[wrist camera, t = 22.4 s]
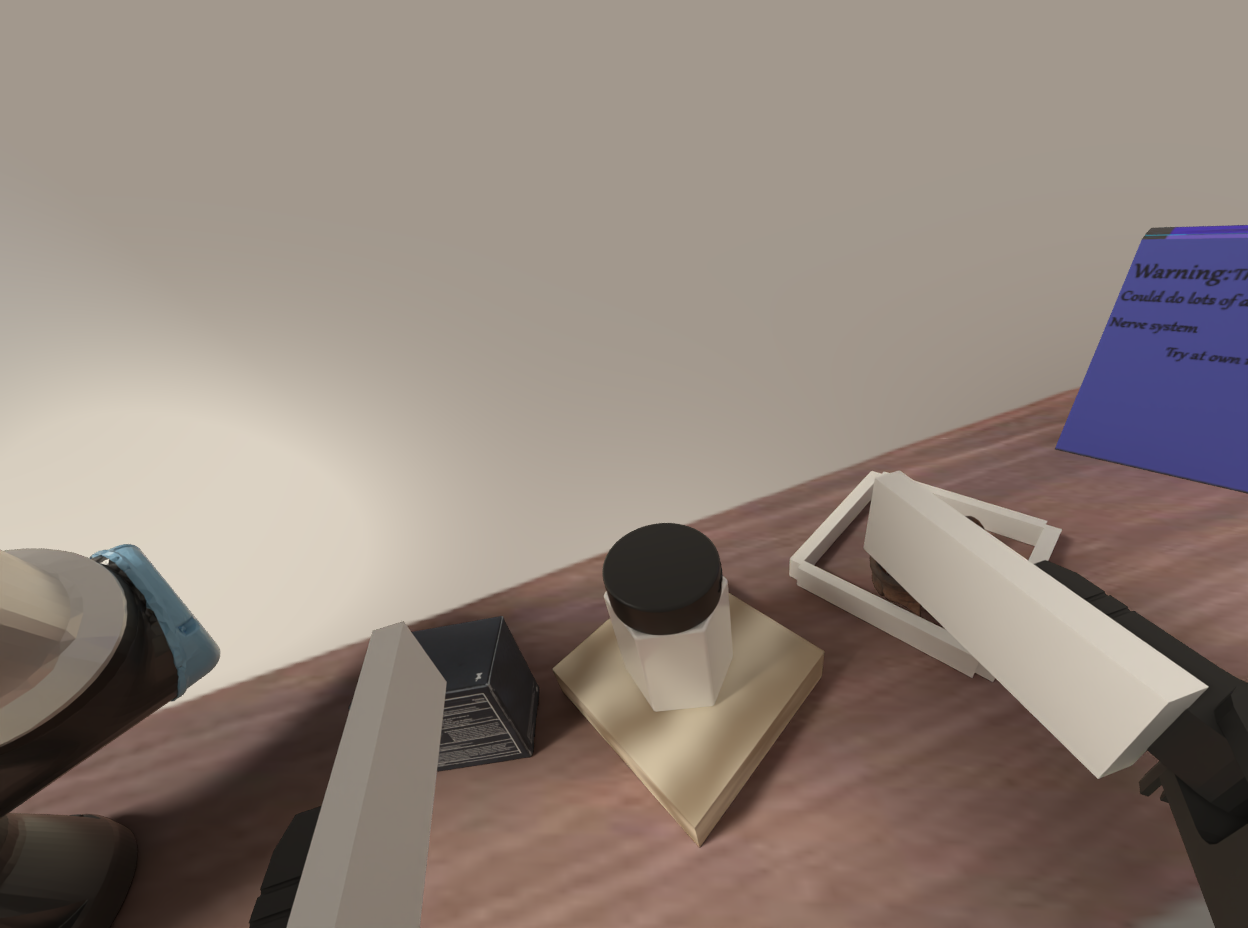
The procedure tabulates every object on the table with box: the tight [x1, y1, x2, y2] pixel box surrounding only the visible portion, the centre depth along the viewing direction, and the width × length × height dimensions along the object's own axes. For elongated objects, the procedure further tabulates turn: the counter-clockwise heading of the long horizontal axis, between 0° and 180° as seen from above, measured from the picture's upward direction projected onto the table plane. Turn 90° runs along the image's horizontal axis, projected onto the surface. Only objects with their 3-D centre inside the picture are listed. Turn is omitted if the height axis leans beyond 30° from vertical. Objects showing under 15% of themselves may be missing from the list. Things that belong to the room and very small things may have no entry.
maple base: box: [552, 593, 825, 848], centre depth 38 cm, size 16×16×4 cm
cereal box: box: [1055, 225, 1248, 493], centre depth 44 cm, size 17×5×24 cm, turn 41°
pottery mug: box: [870, 516, 984, 616], centre depth 42 cm, size 12×10×8 cm
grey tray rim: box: [789, 471, 1062, 682], centre depth 45 cm, size 17×19×2 cm
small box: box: [349, 616, 539, 771], centre depth 37 cm, size 11×6×10 cm, turn 94°
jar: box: [603, 523, 733, 712], centre depth 34 cm, size 9×8×12 cm
